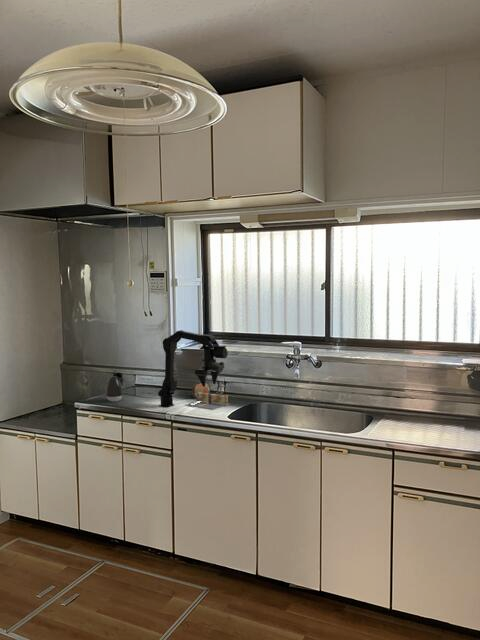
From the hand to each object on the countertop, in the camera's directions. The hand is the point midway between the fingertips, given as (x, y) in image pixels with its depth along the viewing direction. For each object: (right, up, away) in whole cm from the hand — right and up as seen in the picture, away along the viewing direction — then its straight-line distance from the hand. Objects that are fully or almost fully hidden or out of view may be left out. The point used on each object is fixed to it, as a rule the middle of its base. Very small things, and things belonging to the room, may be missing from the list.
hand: (209, 385), depth 306 cm
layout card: (-2, -13, +14) cm, 19 cm away
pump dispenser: (-59, -13, +28) cm, 66 cm away
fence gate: (+5, -12, +14) cm, 19 cm away
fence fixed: (-4, -12, +20) cm, 24 cm away
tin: (-7, -12, +37) cm, 39 cm away
